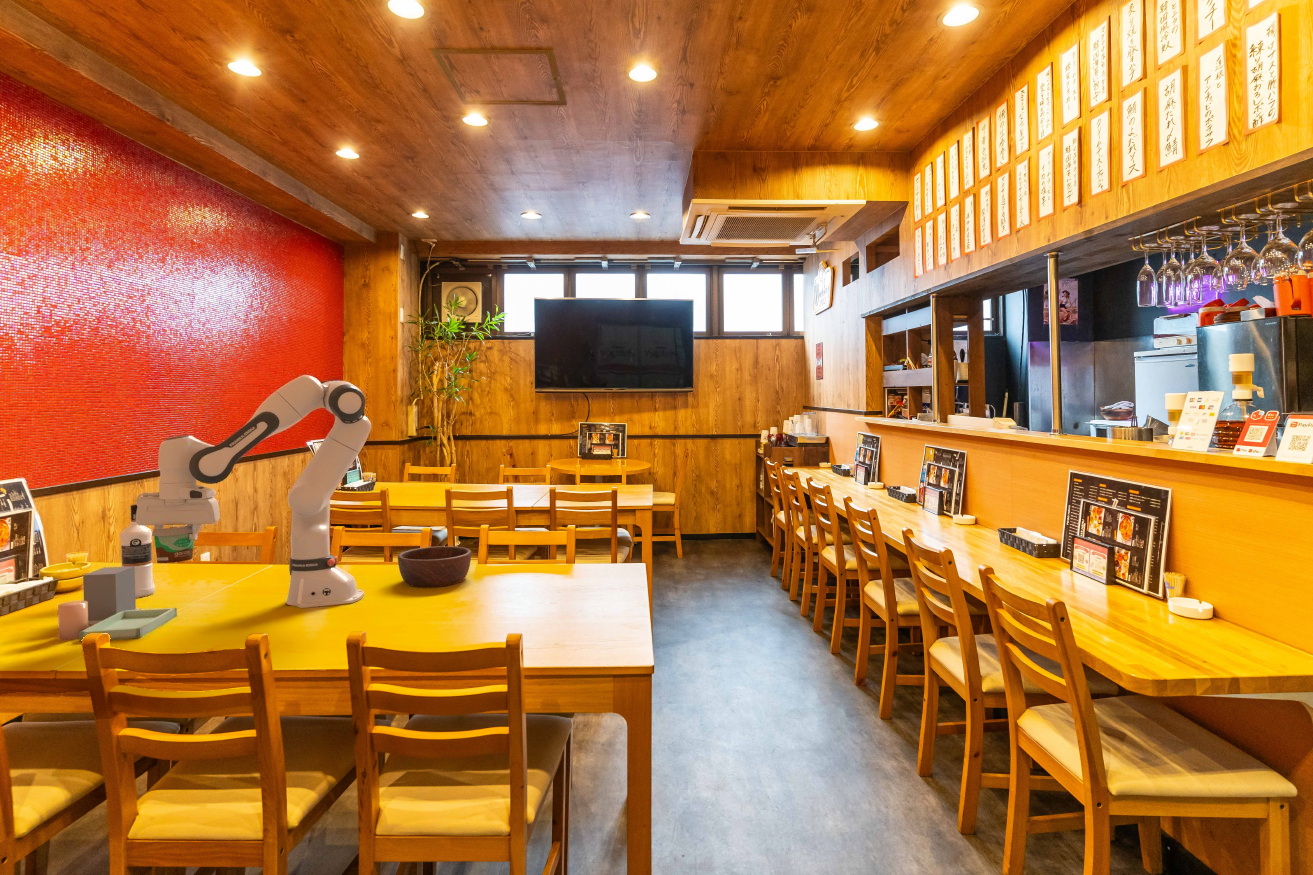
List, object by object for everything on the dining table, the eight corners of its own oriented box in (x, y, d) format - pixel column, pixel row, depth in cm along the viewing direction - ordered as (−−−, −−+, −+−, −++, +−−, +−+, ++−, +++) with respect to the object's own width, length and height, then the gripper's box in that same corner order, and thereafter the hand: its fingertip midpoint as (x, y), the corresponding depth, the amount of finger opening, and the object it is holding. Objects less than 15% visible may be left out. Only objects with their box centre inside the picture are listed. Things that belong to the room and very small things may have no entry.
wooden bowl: (408, 573, 252) (407, 546, 252) (476, 572, 255) (476, 545, 255) (389, 591, 227) (388, 561, 227) (465, 589, 230) (464, 559, 230)
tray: (176, 616, 199) (176, 607, 199) (140, 637, 180) (139, 628, 180) (122, 619, 196) (122, 610, 196) (79, 641, 177) (79, 632, 177)
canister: (93, 632, 184) (92, 599, 184) (79, 639, 178) (78, 605, 178) (68, 633, 183) (67, 601, 183) (53, 641, 177) (52, 607, 177)
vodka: (158, 590, 229) (155, 502, 228) (151, 596, 220) (149, 505, 219) (124, 593, 225) (121, 503, 224) (116, 600, 216) (113, 507, 215)
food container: (171, 565, 187) (170, 529, 187) (152, 564, 188) (151, 528, 188) (208, 556, 199) (207, 522, 199) (190, 555, 200) (189, 521, 200)
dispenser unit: (141, 611, 204) (140, 565, 204) (118, 622, 193) (117, 574, 192) (103, 613, 202) (102, 566, 202) (78, 625, 190) (76, 576, 190)
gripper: (130, 493, 188) (131, 543, 188) (212, 492, 192) (213, 540, 193) (142, 491, 194) (143, 539, 194) (221, 490, 198) (222, 537, 199)
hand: (178, 540), depth 193 cm, fingers closed on food container, 6 cm apart
